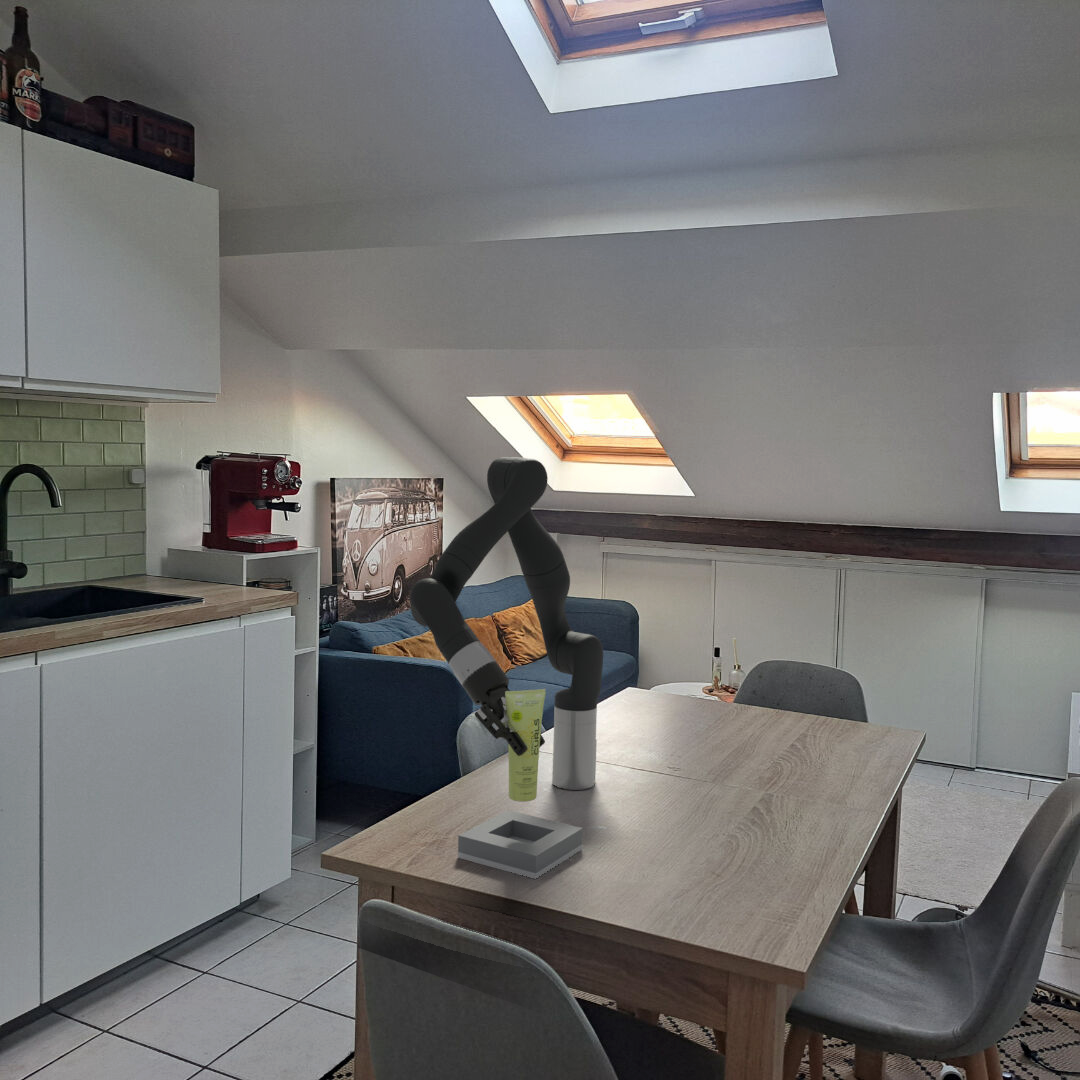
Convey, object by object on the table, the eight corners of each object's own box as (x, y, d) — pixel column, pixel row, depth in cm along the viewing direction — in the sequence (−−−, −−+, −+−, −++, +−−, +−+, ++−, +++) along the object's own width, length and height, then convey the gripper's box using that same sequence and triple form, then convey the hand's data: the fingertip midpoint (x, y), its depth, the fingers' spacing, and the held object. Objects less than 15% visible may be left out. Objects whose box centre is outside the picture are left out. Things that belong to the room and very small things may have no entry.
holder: (508, 830, 189) (508, 810, 189) (582, 849, 181) (582, 828, 180) (457, 857, 175) (458, 835, 175) (535, 879, 167) (536, 855, 167)
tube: (525, 805, 173) (530, 694, 172) (500, 799, 176) (504, 690, 175) (541, 796, 178) (546, 688, 177) (517, 791, 181) (521, 685, 180)
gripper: (467, 666, 173) (524, 746, 168) (512, 654, 186) (566, 728, 180) (442, 691, 177) (496, 771, 171) (488, 678, 189) (540, 752, 183)
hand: (532, 748), depth 176 cm, fingers closed on tube, 5 cm apart
